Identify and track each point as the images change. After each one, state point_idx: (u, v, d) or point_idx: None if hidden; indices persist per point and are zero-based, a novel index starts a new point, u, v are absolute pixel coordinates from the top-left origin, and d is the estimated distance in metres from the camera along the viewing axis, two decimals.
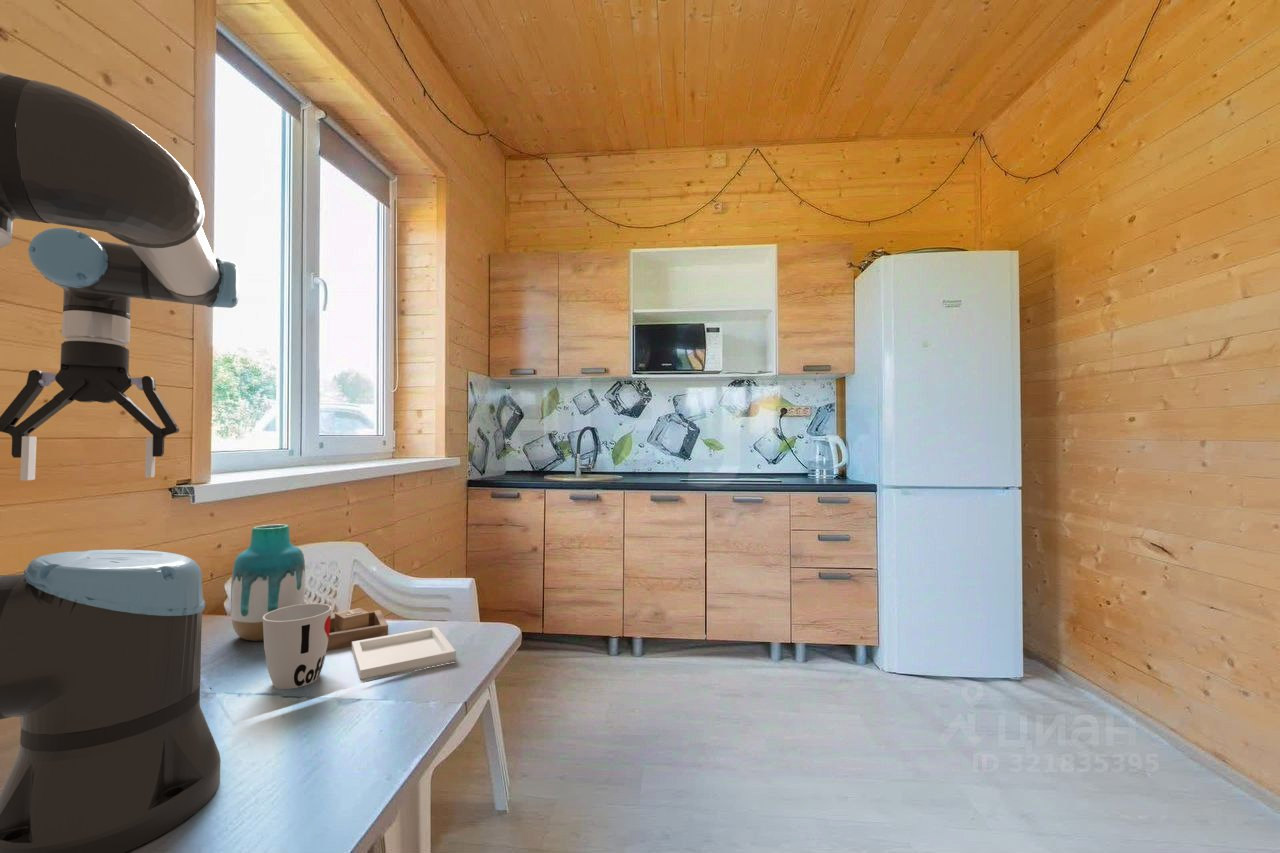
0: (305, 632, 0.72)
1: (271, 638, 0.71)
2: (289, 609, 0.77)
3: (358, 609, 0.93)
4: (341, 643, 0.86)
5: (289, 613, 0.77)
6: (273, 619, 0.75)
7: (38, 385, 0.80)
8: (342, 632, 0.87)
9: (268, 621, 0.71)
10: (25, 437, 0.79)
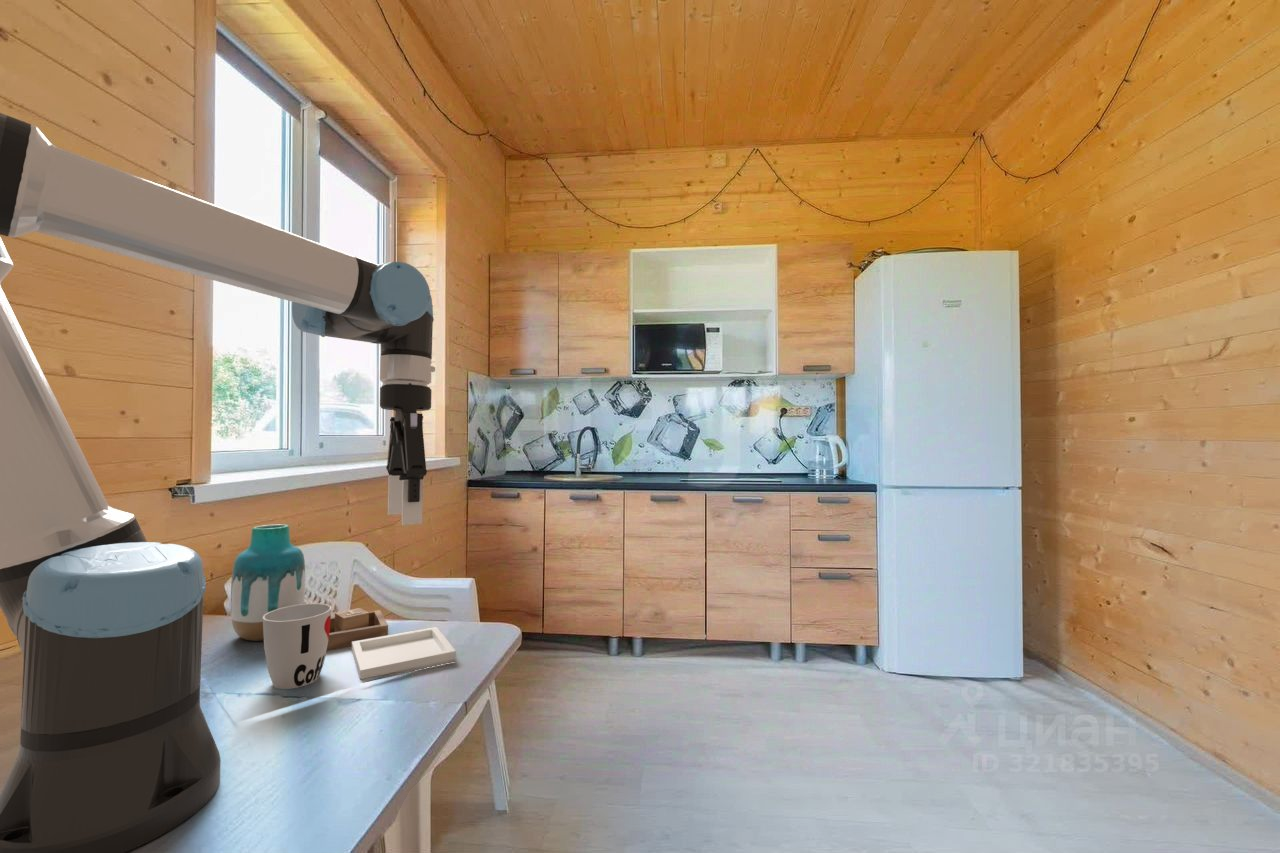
0: (305, 632, 0.72)
1: (271, 638, 0.71)
2: (289, 609, 0.77)
3: (358, 609, 0.93)
4: (341, 643, 0.86)
5: (289, 613, 0.77)
6: (273, 619, 0.75)
7: None
8: (342, 632, 0.87)
9: (268, 621, 0.71)
10: None
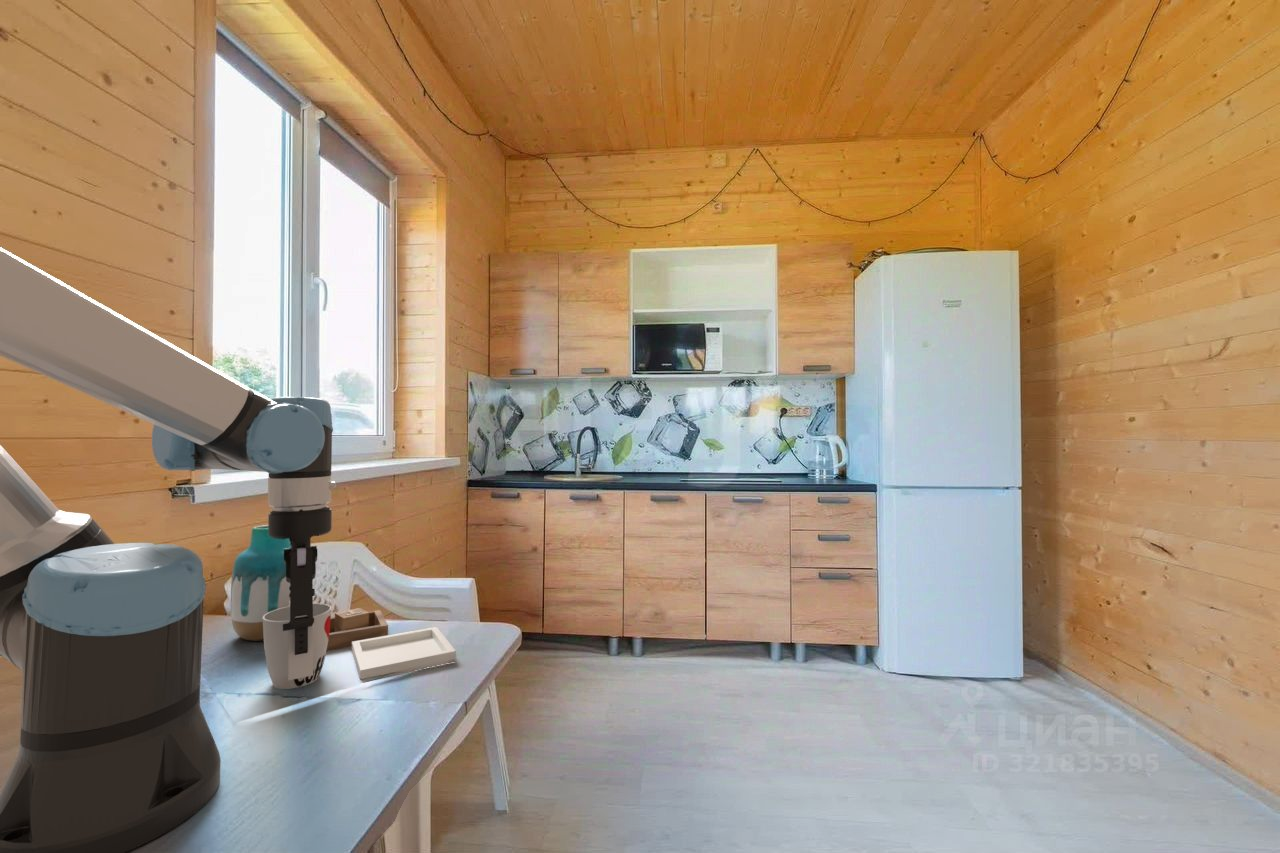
0: None
1: (271, 638, 0.71)
2: (289, 609, 0.77)
3: (358, 609, 0.93)
4: (341, 643, 0.86)
5: (288, 613, 0.77)
6: (273, 619, 0.75)
7: None
8: (342, 632, 0.87)
9: (268, 622, 0.71)
10: (289, 602, 0.80)
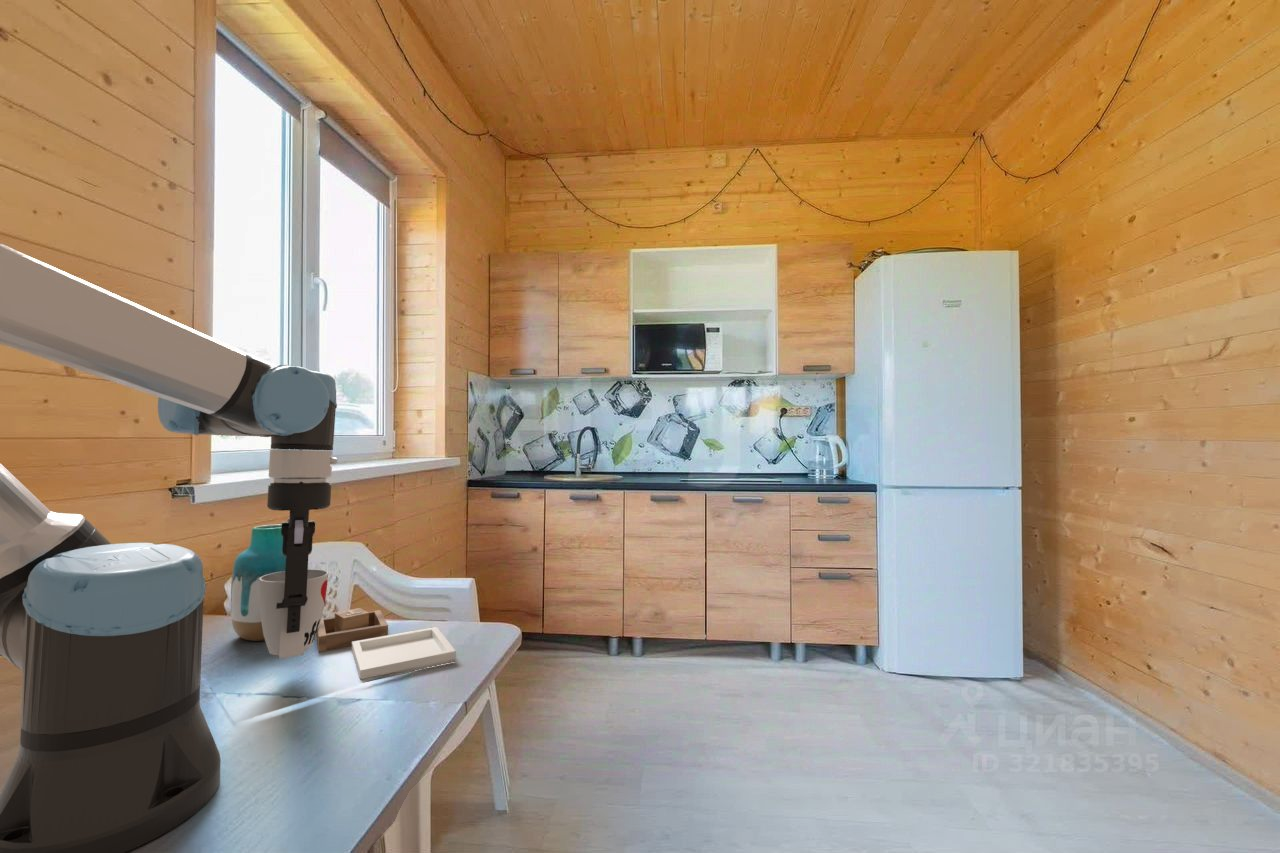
0: None
1: (267, 598, 0.71)
2: None
3: (358, 609, 0.93)
4: (341, 643, 0.86)
5: None
6: None
7: None
8: (342, 632, 0.87)
9: (265, 582, 0.71)
10: None
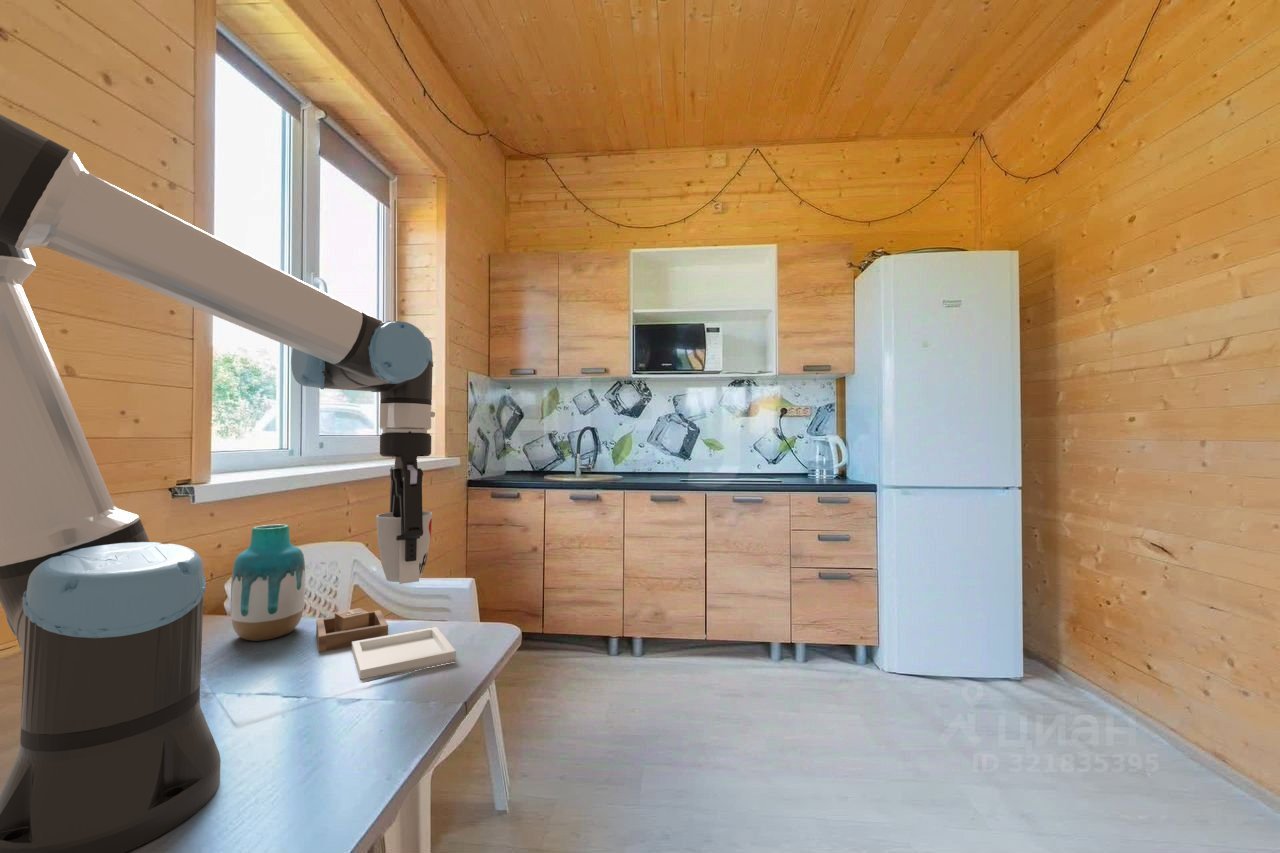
0: None
1: (386, 532, 0.81)
2: None
3: (358, 609, 0.93)
4: (341, 643, 0.86)
5: (393, 518, 0.87)
6: None
7: None
8: (342, 632, 0.87)
9: (384, 518, 0.81)
10: None
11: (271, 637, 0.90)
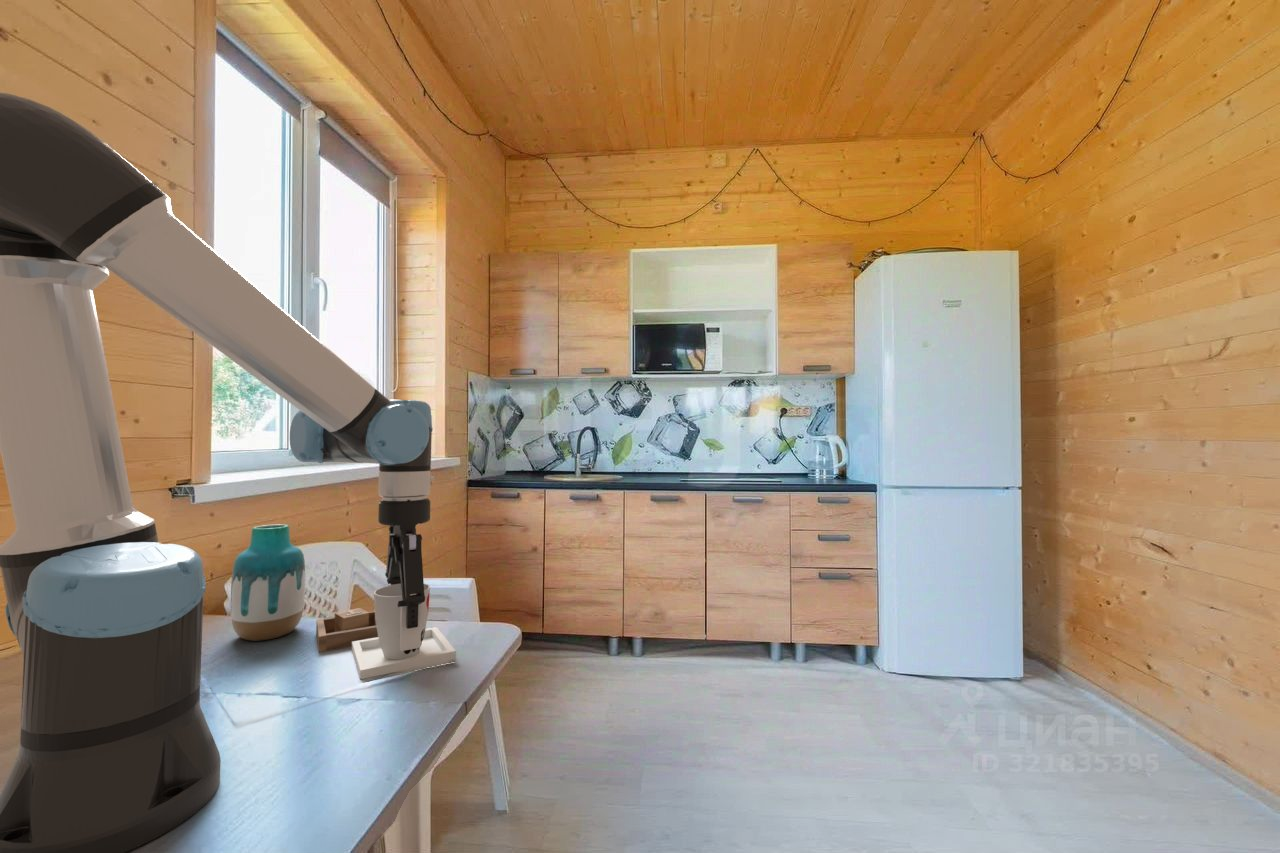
0: None
1: (383, 611, 0.80)
2: (391, 587, 0.87)
3: (358, 609, 0.93)
4: (341, 643, 0.86)
5: (391, 591, 0.87)
6: (380, 596, 0.85)
7: None
8: (342, 632, 0.87)
9: (381, 597, 0.80)
10: None
11: (271, 637, 0.90)
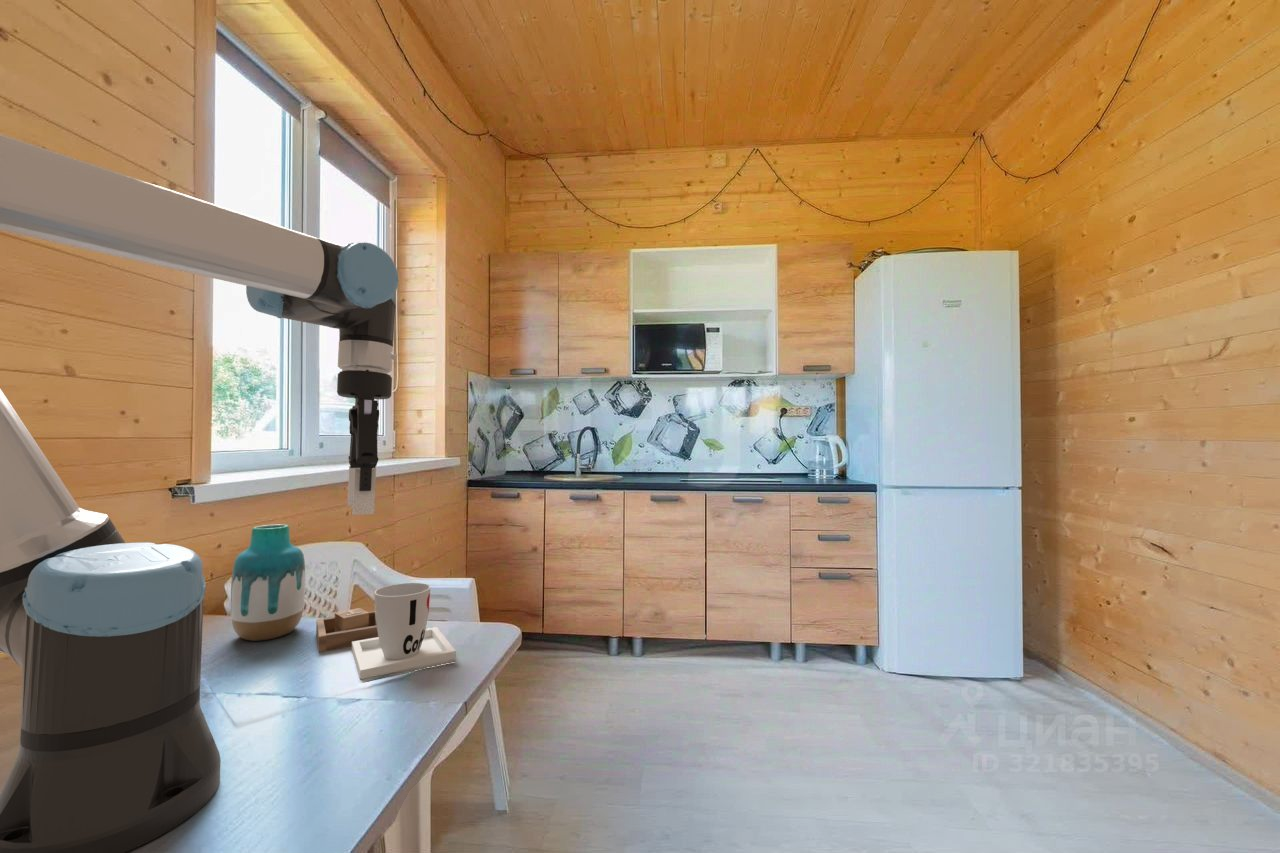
0: (413, 606, 0.81)
1: (384, 611, 0.80)
2: (392, 587, 0.87)
3: (358, 609, 0.93)
4: (341, 643, 0.86)
5: (391, 590, 0.87)
6: None
7: None
8: (342, 632, 0.87)
9: (382, 596, 0.81)
10: (349, 467, 0.87)
11: (271, 637, 0.90)
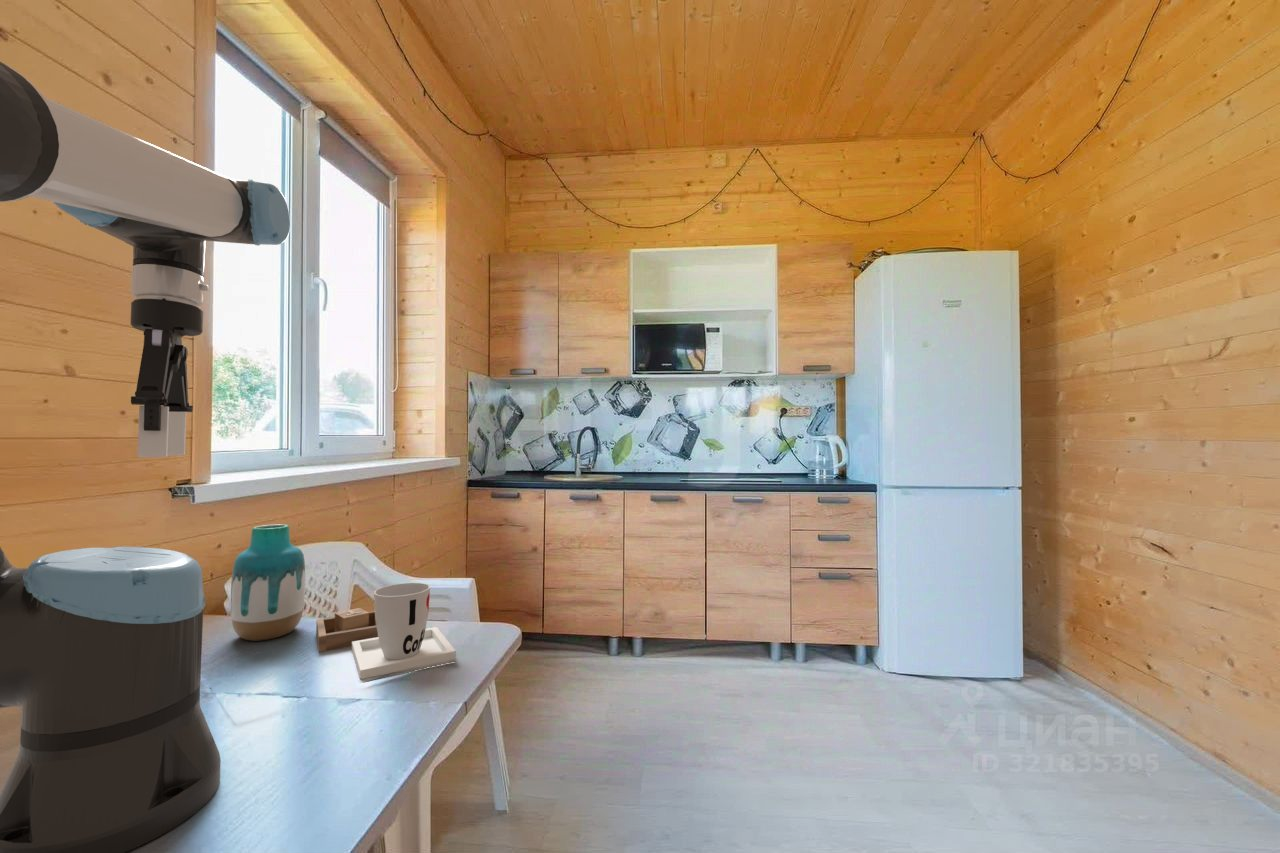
0: (412, 606, 0.81)
1: (383, 611, 0.80)
2: (392, 587, 0.87)
3: (358, 609, 0.93)
4: (341, 643, 0.86)
5: (391, 591, 0.87)
6: None
7: None
8: (342, 632, 0.87)
9: (381, 597, 0.81)
10: None
11: (271, 637, 0.90)
